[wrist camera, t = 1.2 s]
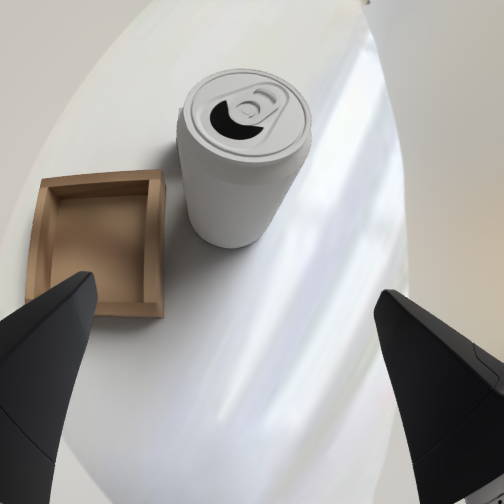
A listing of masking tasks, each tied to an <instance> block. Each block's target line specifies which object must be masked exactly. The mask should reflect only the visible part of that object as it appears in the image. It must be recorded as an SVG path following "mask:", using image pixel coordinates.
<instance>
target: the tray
mask: <svg viewBox="0 0 504 504" xmlns="http://www.w3.org/2000/svg"><path fill="white" fill-rule="evenodd" d="M165 205H166V185H165V181H164V177H163V174H162V170H161V169H157V170H136V171H119V172H105V173H93V174H82V175H72V176H62V177H54V178H45V179H42V180H41V185H40V189H39V194H38V199H37V204H36V209H35V214H34V220H33V226H32V233H31V240H30V247H29V256H28V266H27V278H26V294H25V304H27V303H28V302H30V301H32V300H33V299H35V298H36V297H38V296H39V295H41V294H43V293H44V292H46V291H47V290H49V289H51V288H52V287H54V286H56V285H57V284H59V283H60V282H62V281H64V280H65V279H67V278H69V277H70V276H72V275H74V274H75V273H77V272H79V271H90V272H92V273H93V274H94V278H95V283H96V288H97V292H98V301H97V305H96V309H95V313H94V316H102V317H147V318H164V306H163V262H164V226H165Z"/></svg>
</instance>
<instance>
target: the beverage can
mask: <svg viewBox="0 0 504 504" xmlns="http://www.w3.org/2000/svg"><path fill="white" fill-rule="evenodd" d="M311 126H312V116H311V112H310V108H309V106H308V104H307V102H306V100H305V99H304V97H303V96H302V95H301V93H300V92H299V91H298V90H297V89H296V88H295V87H293V86H292V85H291V84H290V83H288V82H287V81H285V80H283V79H282V78H280V77H278V76H275V75H273V74H270V73H267V72H264V71H259V70H254V69H230V70H224V71H220V72H217V73H214V74H212V75H210V76H208V77H206V78H204V79H203V80H201V81H200V82H198V83H197V84H196V85H195V86H194V87H193V88H192V89H191V91H190V92H189V94H188V96H187V98H186V100H185V103H184V107H183V109H182V111H181V112H180V115H179V118H178V121H177V140H178V148H179V156H180V163H181V171H182V178H183V185H184V192H185V198H186V205H187V211H188V216H189V220H190V223H191V225H192V227H193V228H194V230H195V231H196V233H197V234H198V235H199V236H200V237H201V238H203V239H204V240H205V241H207V242H209V243H211V244H213V245H215V246H218V247H223V248H239V247H243V246H246V245H249V244H251V243H253V242H254V241H256V240H257V239H258V238H260V237H261V236H262V235H263V234H264V232H265V231H266V230H267V228H268V226H269V224H270V222H271V221H272V219H273V217H274V215H275V214H276V212H277V210H278V208H279V206H280V205H281V203H282V201H283V199H284V197H285V196H286V194H287V192H288V190H289V188H290V187H291V185H292V183H293V181H294V180H295V178H296V176H297V174H298V172H299V171H300V169H301V167H302V165H303V163H304V162H305V160H306V158H307V156H308V154H309V151H310V148H311V142H312V134H311Z"/></svg>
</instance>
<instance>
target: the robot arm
mask: <svg viewBox="0 0 504 504" xmlns="http://www.w3.org/2000/svg"><path fill="white" fill-rule="evenodd" d="M97 301H98V292H97V288H96V283H95V278H94V274H93V273H92V272H90V271H79V272H77V273H75V274H74V275H72V276H70V277H69V278H67V279H65V280H64V281H62V282H60V283H59V284H57V285H56V286H54V287H52V288H51V289H49V290H47V291H46V292H44V293H43V294H41V295H39V296H38V297H36V298H35V299H33V300H32V301H30V302H28V303H27V304H25V305H24V306H22V307H21V308H19V309H18V310H16V311H15V312H13V313H12V314H10V315H9V316H7V317H6V318H4V319H3V320H1V321H0V504H49V501H50V494H51V486H52V480H53V474H54V468H55V464H54V463H55V462H56V457H57V452H58V447H59V442H60V438H61V433H62V429H63V425H64V421H65V417H66V413H67V409H68V405H69V401H70V398H71V394H72V391H73V387H74V384H75V380H76V377H77V374H78V371H79V367H80V364H81V361H82V358H83V355H84V352H85V349H86V346H87V343H88V339H89V334H90V330H91V326H92V321H93V317H94V313H95V309H96V305H97ZM374 319H375V323H376V328H377V332H378V337H379V341H380V346H381V350H382V354H383V358H384V361H385V364H386V367H387V371H388V374H389V377H390V380H391V384H392V387H393V391H394V394H395V397H396V401H397V405H398V408H399V412H400V415H401V419H402V423H403V427H404V431H405V435H406V439H407V443H408V447H409V451H410V456H411V460H412V463H413V464H412V465H413V470H414V475H415V479H416V484H417V490H418V495H419V501H420V504H454V503H456V502H458V501H460V500H461V499H463V498H464V499H465V502H466V504H504V363H502V362H501V361H499V360H497V359H496V358H495V357H493V356H491V355H490V354H489V353H487V352H486V351H484V350H483V349H481V348H480V347H479V346H477V345H476V344H474V343H472V342H471V341H470V340H469V339H467V338H466V337H464V336H463V335H461V334H460V333H459V332H457V331H456V330H454V329H453V328H451V327H450V326H448V325H447V324H446V323H444V322H443V321H441V320H440V319H438V318H437V317H435V316H434V315H432V314H431V313H429V312H428V311H426V310H425V309H423V308H422V307H420V306H419V305H417V304H416V303H414V302H413V301H411V300H410V299H408V298H407V297H405V296H404V295H402V294H401V293H399V292H397V291H396V290H391V289H385V290H383V291H382V292H381V294H380V297H379V299H378V301H377V304H376V306H375V308H374Z"/></svg>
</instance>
